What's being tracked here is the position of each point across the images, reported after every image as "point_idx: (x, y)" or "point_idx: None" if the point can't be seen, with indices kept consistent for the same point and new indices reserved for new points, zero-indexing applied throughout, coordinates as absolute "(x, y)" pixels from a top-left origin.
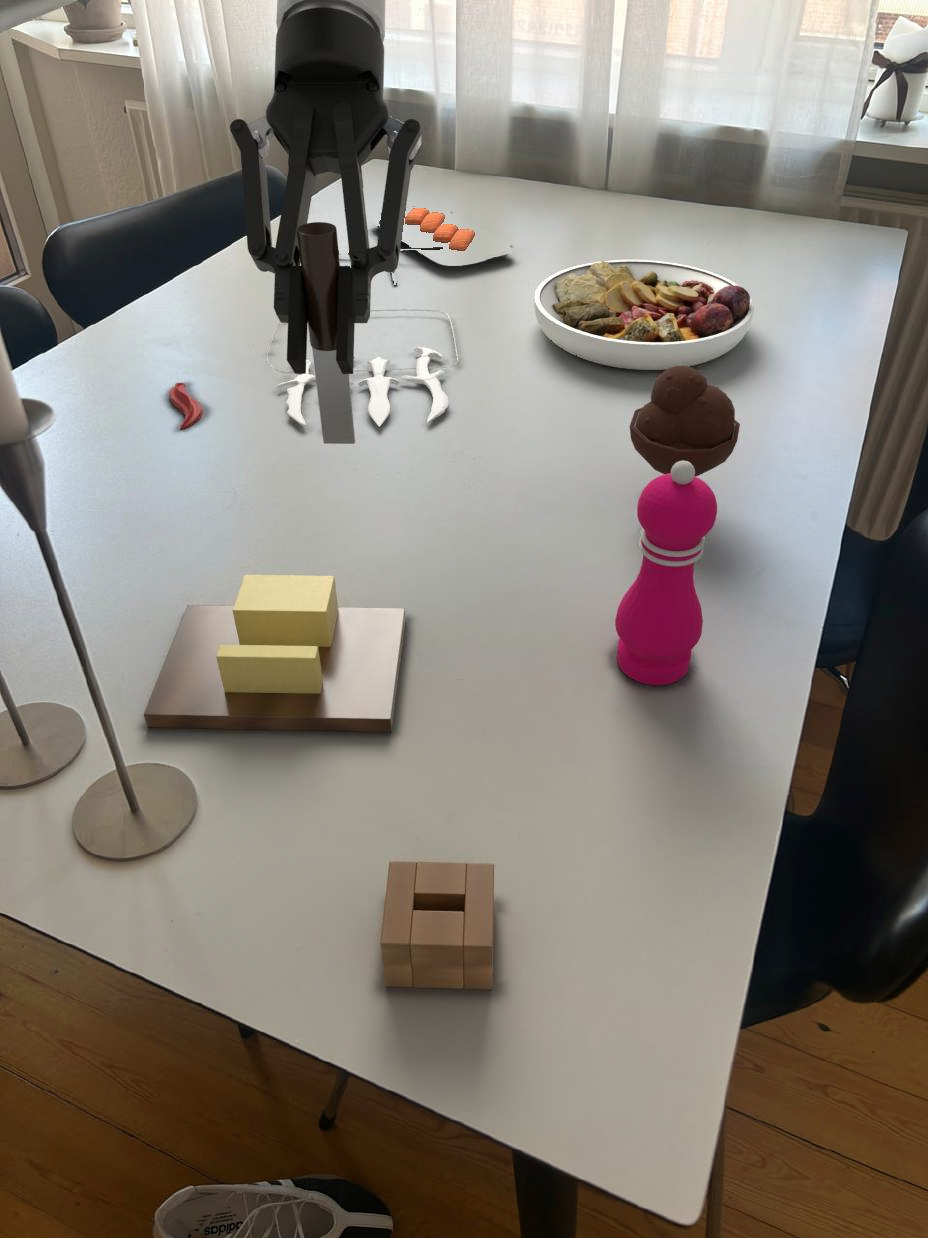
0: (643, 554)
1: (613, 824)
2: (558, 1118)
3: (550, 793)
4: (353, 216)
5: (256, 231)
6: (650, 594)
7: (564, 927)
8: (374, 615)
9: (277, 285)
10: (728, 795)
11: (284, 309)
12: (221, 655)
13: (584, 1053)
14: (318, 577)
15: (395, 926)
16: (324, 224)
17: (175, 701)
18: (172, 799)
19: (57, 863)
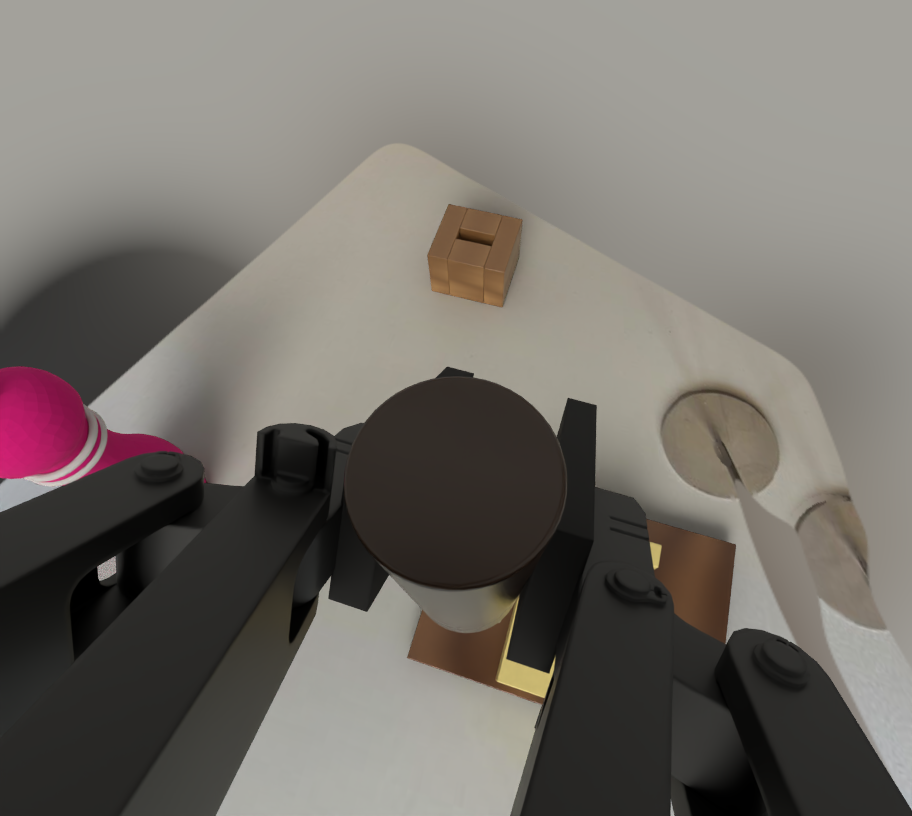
0: (106, 441)
1: (314, 333)
2: (438, 179)
3: (349, 371)
4: (193, 612)
5: (815, 741)
6: (133, 446)
7: (388, 269)
8: (449, 653)
9: (639, 553)
10: (212, 336)
11: (607, 496)
12: (655, 545)
13: (410, 202)
14: (520, 683)
15: (510, 227)
16: (398, 522)
17: (701, 556)
18: (685, 445)
19: (778, 401)
